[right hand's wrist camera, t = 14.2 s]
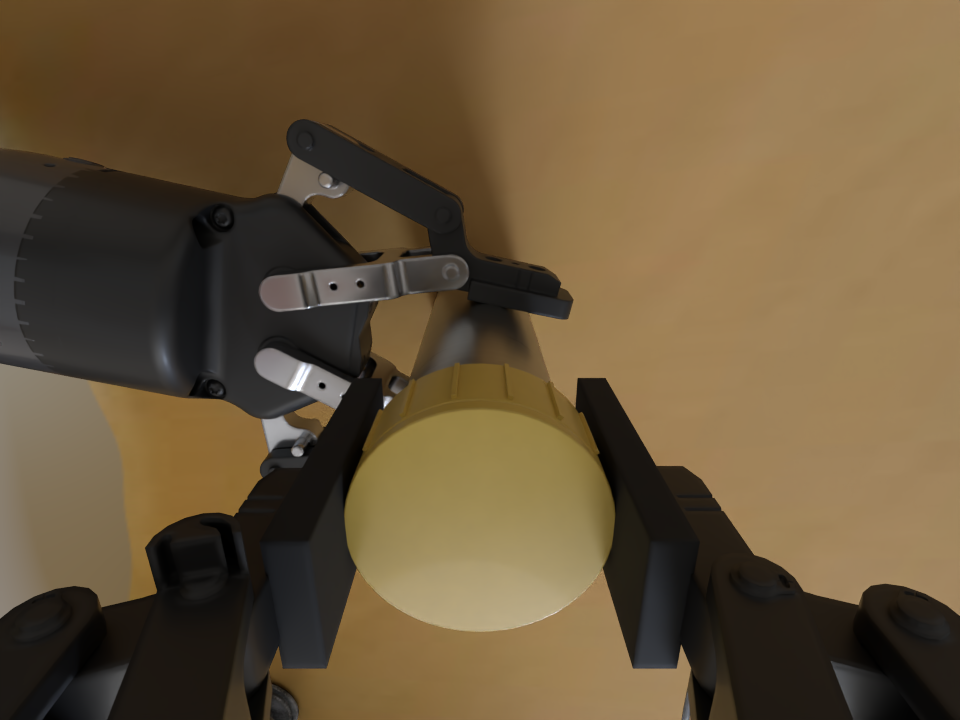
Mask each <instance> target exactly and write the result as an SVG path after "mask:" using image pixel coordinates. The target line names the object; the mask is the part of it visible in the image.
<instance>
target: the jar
mask: <svg viewBox="0 0 960 720" xmlns="http://www.w3.org/2000/svg"><path fill="white" fill-rule="evenodd" d="M467 297H468V292H466V291H461V290H456V289H455V290H447V291H438V293H437V296H436V299H435V302H434V306H433V309H432V312H431V315H430V318H429V321H428V324H427V327H426V330H425V333H424V336H423V339H422V343H421V346H420V349H419V352H418V355H417V358H416V361H415V364H414V367H413V370H412V373H411V376H410V380H412V379H414V380H415V381H416V380H418V379H419V378H421V377H423V376H426V375H428V374H430V373H432V372H434V371H438V370H441V369H444V368H448V367H452V366H454V364H455V363H460V365H464V364H479V363H483V364H496V365H502V366H504V363H505V364H509V367H512V368H516V369H519V370H522V371H525V372H528V373H530V374H532V375H534V376H536V377H538V378H540V379H542V380H544V381H545V382H547V383H548V382H549V381H550V377H549V374H548V371H547V368H546V365H545V362H544V359H543V356H542V353H541V350H540V346H539V343H538V340H537V337H536V334H535V331H534V328H533V325H532V322H531V319H530V315H529V313H528V312H523V311H518V310H514V309H509V308H504V307H499V306H496V305H491V304H485V303H480V302H475V301H471V300H467ZM410 380H409V382H410ZM408 385H409V383H408Z"/></svg>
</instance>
